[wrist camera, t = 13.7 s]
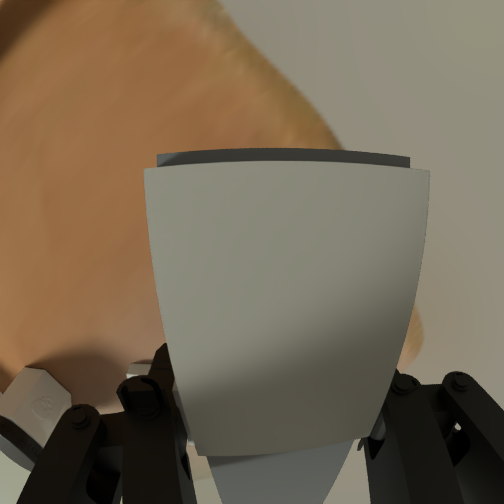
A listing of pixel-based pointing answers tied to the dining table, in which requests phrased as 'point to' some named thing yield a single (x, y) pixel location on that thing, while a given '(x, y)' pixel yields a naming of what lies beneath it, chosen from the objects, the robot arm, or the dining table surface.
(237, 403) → the grey rectangular block
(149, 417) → the robot arm
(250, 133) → the dining table surface
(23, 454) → the jar
